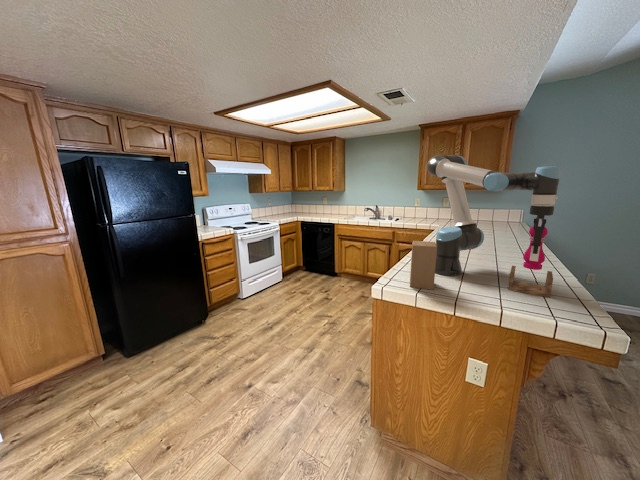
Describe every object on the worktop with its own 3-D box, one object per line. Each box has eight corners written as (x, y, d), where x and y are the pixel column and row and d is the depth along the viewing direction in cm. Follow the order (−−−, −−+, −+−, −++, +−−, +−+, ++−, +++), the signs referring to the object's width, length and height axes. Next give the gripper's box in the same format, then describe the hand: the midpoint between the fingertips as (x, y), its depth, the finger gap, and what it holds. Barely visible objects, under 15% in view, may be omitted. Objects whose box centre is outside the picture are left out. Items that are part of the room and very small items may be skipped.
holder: (507, 289, 114) (510, 271, 112) (509, 281, 122) (512, 265, 120) (549, 297, 105) (553, 278, 103) (548, 289, 113) (551, 271, 111)
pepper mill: (547, 270, 107) (555, 223, 103) (527, 269, 108) (535, 223, 104) (536, 265, 114) (544, 220, 110) (518, 264, 115) (525, 220, 111)
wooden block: (431, 282, 123) (435, 241, 119) (433, 290, 114) (437, 246, 110) (410, 279, 127) (412, 240, 122) (409, 287, 117) (412, 245, 113)
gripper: (556, 207, 96) (545, 266, 100) (553, 203, 111) (544, 254, 115) (530, 206, 100) (521, 262, 105) (531, 203, 115) (523, 252, 120)
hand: (533, 258), depth 110 cm, fingers closed on pepper mill, 7 cm apart
